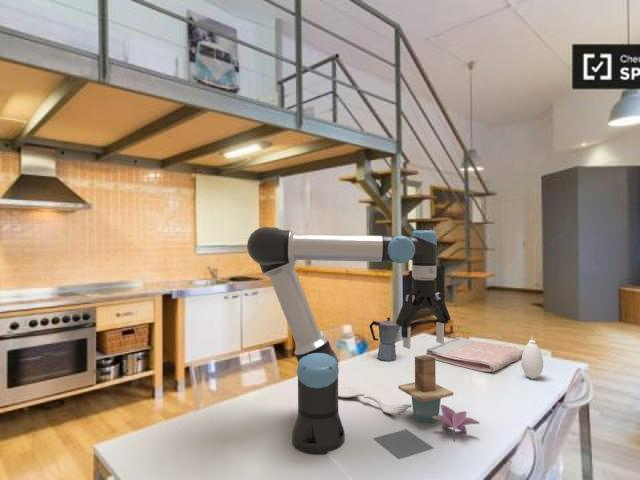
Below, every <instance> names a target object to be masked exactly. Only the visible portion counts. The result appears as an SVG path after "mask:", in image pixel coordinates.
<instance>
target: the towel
mask: <svg viewBox="0 0 640 480" xmlns="http://www.w3.org/2000/svg"><path fill="white" fill-rule="evenodd" d="M523 351H524V349H522V348H517V347H515V346H508V345H502V344H497V343H491V342H487V341H486V342H485V341H478V340H476V341H475V340H472V339H468V338H465V337H462V336H457V337H455V338H454V339H449V340H447V341H444V344H441V343H440V344H438V345H436V346H433V347H430V348H427V349H426V353H425V355H428V356H430V357H433V358H435V361H438V362H441V363H445V364H450V365H454V366H457V367H462V368H466V369H469V370H473V371H478V372H480V373H481V372H482V373H493V372H496V371H498V370H500V369H502V368H504V367H507V366H509V365H510V364H511V363H515V362H516V361H518V360H519V359H522V354H523Z"/></svg>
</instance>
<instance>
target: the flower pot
mask: <svg viewBox="0 0 640 480" xmlns="http://www.w3.org/2000/svg"><path fill="white" fill-rule="evenodd" d="M441 399H442V398H440V399H436V400H432V401H427V402H421V401H419V400H417V399H416V398H414V397H412V396H411V407H412V412H413V415H414V418H415V419H416V421H417V422H420V423H421V422H423V423H424V422H425V423H431V424H433V423H436V421H437V419H435V418H432V417H433V416H440V410H441V401H442V400H441Z"/></svg>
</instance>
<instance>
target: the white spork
mask: <svg viewBox="0 0 640 480" xmlns="http://www.w3.org/2000/svg"><path fill="white" fill-rule="evenodd" d="M354 397H363V398H364V399H369V400H372V401H374V402H376V403H377V405H378V406H379V407H380V408H381V410H382V412H384V413H386V414H390V415H392V416H398V415H399V414H401V413H403V412H405V411H406V410H408V409H409V408H412V404H410V403H407V404H405V403H404V404H386V403H384V402H383V401H381V400H380V399H378V398H376V397H375V396H373V395H371V394H369V393H365V392H364V393H363V392H359V391H358V390H356V389H355V388H352V387H351V386H346V385H344V384H339V383H338V398H344V399H345V398H346V399H347V398H354Z"/></svg>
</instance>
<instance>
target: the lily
mask: <svg viewBox="0 0 640 480" xmlns="http://www.w3.org/2000/svg"><path fill="white" fill-rule="evenodd" d="M440 410H441V412H442V415H438V416H433V417H432V418H435V419H437V420H438V421H440V422H442V423H441V427H442V428H444V429H448V428H453V433H452V434H453V442H455V441H456V438H455V437H456V436H455V435H456V434H455V433H456V432H455V430H456V429H457V430H459V431H460V432H463V433H467V427H466V426H468V425H479V424H481V422H480V421H478V420H476V419H473V418H471V417H469V416H468V417H467V415H468V414H467V411H465V410H464V411H458V412H455V410H453V409H452V408H450V407H448V406H447V405H444V404H440ZM437 420H436V421H437Z"/></svg>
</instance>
